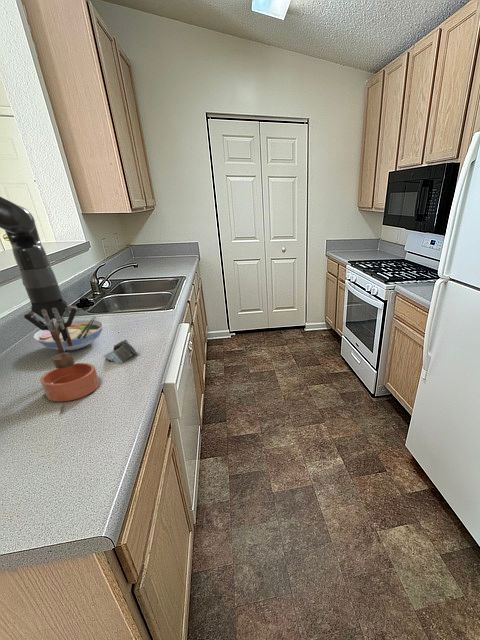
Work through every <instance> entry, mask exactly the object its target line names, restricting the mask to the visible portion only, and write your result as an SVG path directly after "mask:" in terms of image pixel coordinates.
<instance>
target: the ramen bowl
mask: <svg viewBox="0 0 480 640" xmlns="http://www.w3.org/2000/svg"><path fill="white" fill-rule="evenodd" d="M103 328H104V322H103V321H100V320H97V319H96V317H95V316H93V317H92V318H91V319H75V320H73V321H72V324H71V326H69V327H67V329H68V331H69V334H70V337H71V340H72V343H73V346H68V343H67V341H64V340H63V337H62V334H61V333H60V335H59V337H60V340H61V342H62V345H63V348H64V350H65V351H68V352H71V351H73V352H74V351H78V350H81V349H83V348H85V347H86V346H89V345H90V344H92V343H94V342H95V341H96V340H98V338H99V337H100V335H101V334H102V331H103ZM33 339H34V340H35V341H37V342H38V343H39V344H41V345H43V346H44V347H46V348H48V349H51V350H56V351H59V350H58V348H57V345H56V342H55V341H54V340H53V338H52V335H51V333H50V331H49V330H41V329H39V330H38V331H37V332H35V333H34V335H33Z"/></svg>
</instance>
